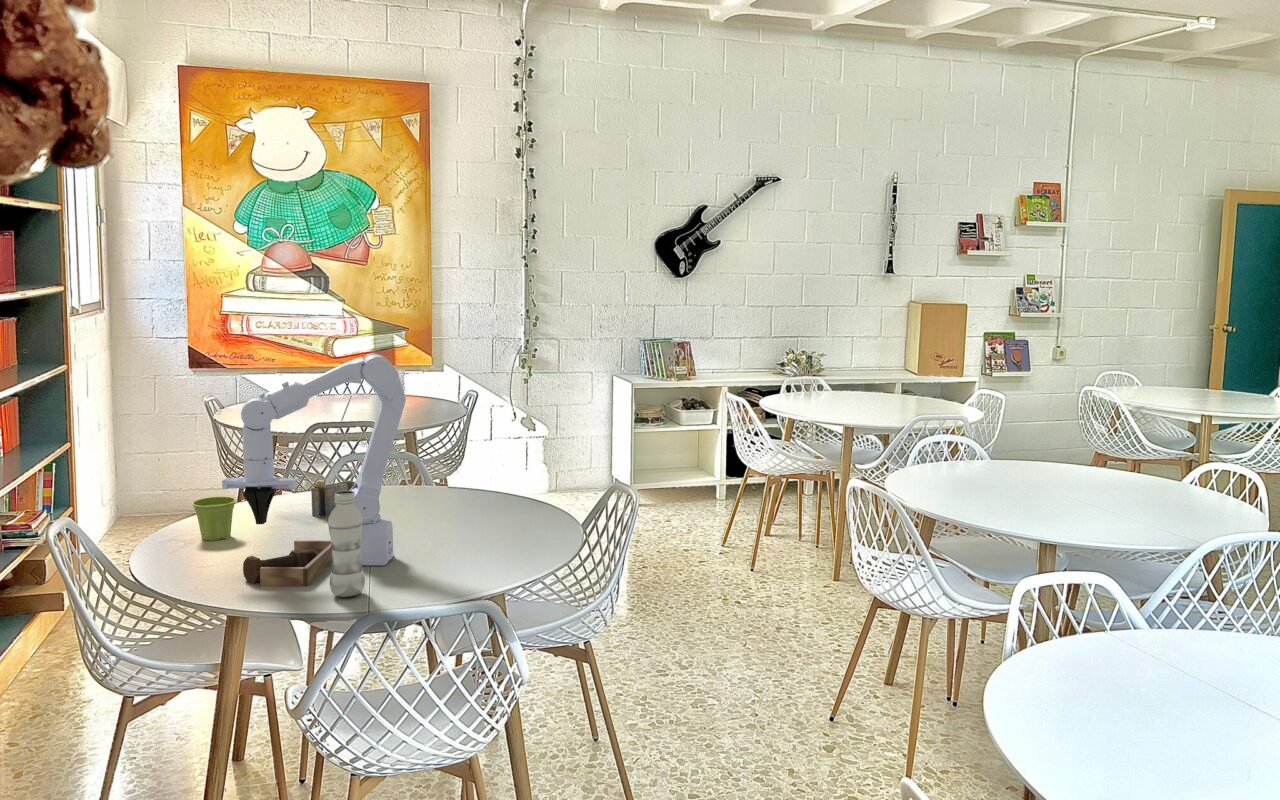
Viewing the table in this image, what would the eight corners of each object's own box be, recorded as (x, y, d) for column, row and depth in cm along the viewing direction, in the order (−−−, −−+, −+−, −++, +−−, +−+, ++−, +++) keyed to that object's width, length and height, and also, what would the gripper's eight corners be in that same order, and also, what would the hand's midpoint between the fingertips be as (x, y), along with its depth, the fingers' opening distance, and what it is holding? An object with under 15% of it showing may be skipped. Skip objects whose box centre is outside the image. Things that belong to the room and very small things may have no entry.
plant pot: (228, 543, 227) (226, 505, 226) (186, 543, 227) (184, 505, 226) (244, 532, 236) (242, 496, 235) (204, 532, 236) (202, 496, 235)
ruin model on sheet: (319, 519, 251) (318, 481, 250) (312, 517, 253) (310, 479, 251) (357, 511, 260) (355, 474, 259) (349, 509, 262) (348, 472, 260)
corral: (338, 556, 217) (337, 540, 217) (307, 585, 197) (306, 568, 196) (295, 556, 217) (295, 540, 217) (260, 585, 197) (259, 568, 196)
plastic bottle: (369, 590, 194) (367, 489, 192) (358, 601, 188) (355, 496, 185) (337, 589, 195) (333, 488, 192) (324, 600, 188) (321, 496, 185)
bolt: (319, 575, 209) (251, 590, 198) (307, 560, 212) (240, 573, 201) (326, 554, 207) (258, 568, 196) (315, 539, 210) (247, 551, 198)
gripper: (214, 461, 200) (217, 527, 202) (287, 461, 200) (290, 528, 202) (228, 455, 207) (231, 519, 209) (299, 455, 207) (301, 519, 209)
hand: (261, 523), depth 206 cm, fingers closed
